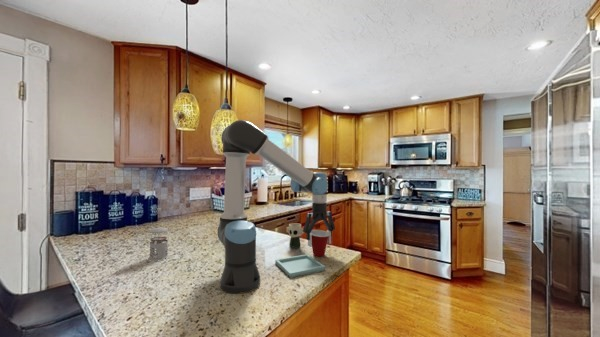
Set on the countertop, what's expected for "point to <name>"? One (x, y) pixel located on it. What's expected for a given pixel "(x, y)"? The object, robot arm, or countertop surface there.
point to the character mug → (295, 234)
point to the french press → (158, 244)
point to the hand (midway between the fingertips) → (319, 244)
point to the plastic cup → (319, 242)
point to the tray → (299, 265)
